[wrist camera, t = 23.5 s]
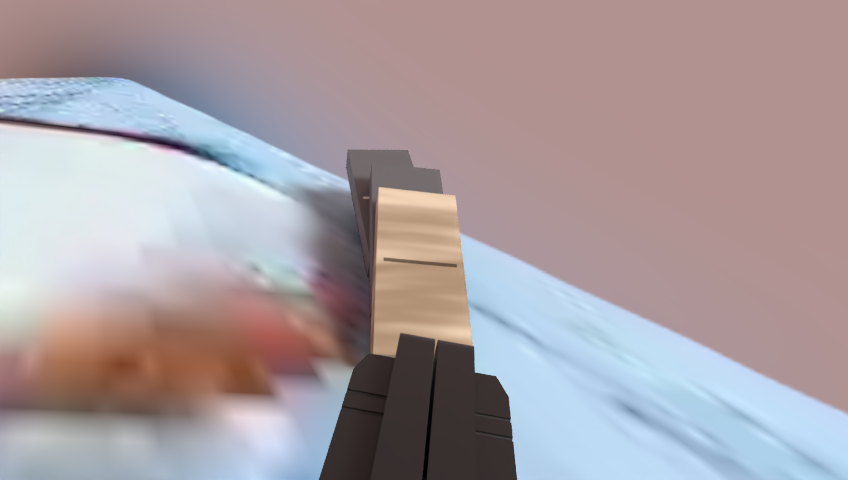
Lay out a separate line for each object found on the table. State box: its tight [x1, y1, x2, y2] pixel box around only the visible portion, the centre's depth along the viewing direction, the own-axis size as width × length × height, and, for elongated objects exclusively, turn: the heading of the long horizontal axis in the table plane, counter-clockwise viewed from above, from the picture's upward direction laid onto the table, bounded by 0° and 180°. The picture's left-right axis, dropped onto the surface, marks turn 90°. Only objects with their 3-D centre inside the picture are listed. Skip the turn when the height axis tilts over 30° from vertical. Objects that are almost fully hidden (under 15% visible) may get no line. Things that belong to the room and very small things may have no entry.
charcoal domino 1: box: [346, 150, 413, 276], centre depth 39 cm, size 2×5×12 cm
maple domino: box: [370, 187, 473, 358], centre depth 30 cm, size 2×5×12 cm
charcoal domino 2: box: [369, 163, 443, 317], centre depth 34 cm, size 2×5×12 cm
